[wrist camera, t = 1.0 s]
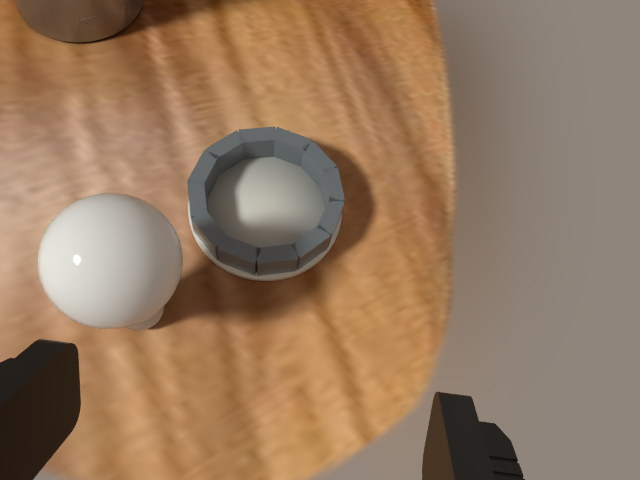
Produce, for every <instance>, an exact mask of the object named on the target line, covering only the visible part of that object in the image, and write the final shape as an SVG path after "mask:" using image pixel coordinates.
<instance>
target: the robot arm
mask: <svg viewBox="0 0 640 480" xmlns="http://www.w3.org/2000/svg"><path fill="white" fill-rule="evenodd" d="M14 1H15V3H16V5H17V7H18V9H19V11H20V13H21V16H22V17H23V19H24V20H25V21H26V22H27V24H28V25H29V26H30V27H32V28H33V29H34V30H36V31H37V32H38V33H40V34H43V35H45V36H47V37H49V38H52V39H56V40H60V41H67V42H90V41H95V40H100V39H104V38H106V37H109V36H111V35H114V34H116V33H118V32H119V31H121V30H123V29H125V28H126V27H127V26H128V25H129V24H130V23H132V22H133V21H134V19H135V18H136V17H137V15H138V14H139V12H140V10H141V8H142V5H143V0H14ZM80 406H81V399H80V379H79V359H78V350H77V347H76V346H75V344H73V343H66V342H59V341H51V340H43V339H39V340H37V341H35V342H34V343H33V344H31V345H30V346H29V347H28V348H27V349H25V350H24V351H23V352H22V353H21V354H19V355H18V356H17V357H16V358H15V359H14V358H9V359H7V360H5V361H3V362H0V480H33V479H34V478H35V476H36V475H37V474H38V473H39V471H40V470H41V469H42V468H43V466H44V465H45V464H46V463H47V462H48V460H49V459H50V458H51V457H52V455H53V454H54V453H55V452H56V450H57V449H58V448H59V447H60V446H61V444H62V443H63V442H64V441H65V439H66V438H67V437H68V436H69V434H70V433H71V432H72V430H73V429H74V427H75V425H76V422H77V420H78V417H79V413H80ZM517 460H518V459H517V457H516V454H515V451H514V448H513V446H512V443H511V441H510V439H509V438H508V437H507V436H506V435H505V434H504V433H503V432H502V431H501V429H500V428H499V427H498V426H497V425H496V424H494V423H487V422H479V420H478V417H477V413H476V410H475V406H474V403H473V400H472V398H471V396H464V395H457V394H448V393H441V392H436V393H435V396H434V399H433V404H432V410H431V415H430V420H429V426H428V432H427V437H426V442H425V448H424V454H423V465H422V480H525V479H523V473H522V471H521V468H520V465H519V463H517Z"/></svg>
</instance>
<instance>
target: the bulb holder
mask: <svg viewBox="0 0 640 480" xmlns="http://www.w3.org/2000/svg"><path fill="white" fill-rule="evenodd" d="M187 183H188V194H189V203H188V216H189V222H190V227H191V230H192V233H193V236H194V238H195V240H196V242H197V244H198V246H199V247H200V249H201V250H202V252H203V253H204V254H205V255H206V256H207V257H208V258H209V260H211V261H212V262H213V263H214V264H215V265H217V266H218V267H220V268H221V269H223V270H224V271H226V272H228V273H230V274H232V275H235V276H237V277H241V278H244V279H248V280H253V281H265V282H267V281H279V280H284V279H288V278H292V277H295V276H297V275H300V274H302V273H304V272H306V271H308V270H309V269H311V268H312V267H314V266H315V265H316V264H317V263H319V262H320V261H321V260H322V259H323V258H324V257H325V256H326V254H327V253H328V252H329V251H330V249H331V248H332V246H333V244H334V242H335V240H336V238H337V235H338V232H339V229H340V225H341V220H342V210H343V207H344V203H345V198H344V193H343V188H342V184H341V179H340V175H339V170H338V168H337V165H336V164H335V163H334V162H333V161H332V160H331V159H330V158H329V157H328V156H327V155H326V154H325V153H324V152H323V150H322V149H321V148H320V147H319V146H318V145H317V144H316V143H315V142H314V141H312V142H311V139H309V138H306V137H303V136H300V135H298V134H295V133H292V132H290V131H287V130H284V129H281V128H279V127H277V129H276V128H275V127H266V128H254V129H241V130H239V132H238V131H237V130H236V131H235V132H233V133H231V134H230V135H228V136H226V137H225V138H223V139H221V140H220V141H218V142H216V143H214V144H213V145H211V146H209V147H208V148H206V150H204V152H203V154H202V155H201V157H200V159H199V161H198V162H197V164H196V166H195V168H194V170H193V171H192V173H191V175H190V177H189V179H188V182H187Z"/></svg>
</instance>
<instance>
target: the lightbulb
mask: <svg viewBox="0 0 640 480" xmlns="http://www.w3.org/2000/svg"><path fill="white" fill-rule="evenodd" d="M37 264H38V273H39V278H40V281H41V284H42V287H43V289H44V291H45V293H46V295H47V296H48V298H49V299H50V301H51V302H52V303H53V304H54V306H55V307H56V308H57V309H58V310H59V311H61V312H62V313H63V314H64V315H66V316H67V317H69V318H70V319H72V320H74V321H76V322H78V323H80V324H83V325H85V326H89V327H93V328H98V329H120V328H126V327H127V328H129V329H132V330H145V329H148V328H150V327H152V326H154V325H155V324H156V323H157V322H158V321H159V320H160V319H161V317H162V315H163V312H164V306H165V305H166V303H167V302H168V301H169V300H170V298H171V297H172V295H173V294H174V292H175V290H176V288H177V286H178V283H179V280H180V277H181V273H182V266H183V255H182V248H181V244H180V240H179V237H178V235H177V233H176V231H175V229H174V227H173V226H172V224H171V223H170V221H169V220H168V219H167V218H166V216H165V215H164V214H163V213H162V212H160V211H159V210H158V209H157V208H156V207H154V206H153V205H151V204H150V203H148V202H146V201H144V200H142V199H140V198H137V197H134V196H131V195H127V194H120V193H102V194H95V195H91V196H88V197H85V198H82V199H80V200H78V201H76V202H74V203H72V204H70V205H69V206H67V207H66V208H65V209H63V210H62V211H61V212H60V213H59V214H58V215H57V216H56V217H55V218H54V219H53V220H52V221H51V223H50V224H49V226H48V227H47V229H46V231H45V232H44V235H43V237H42V239H41V242H40V246H39V250H38V259H37Z"/></svg>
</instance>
